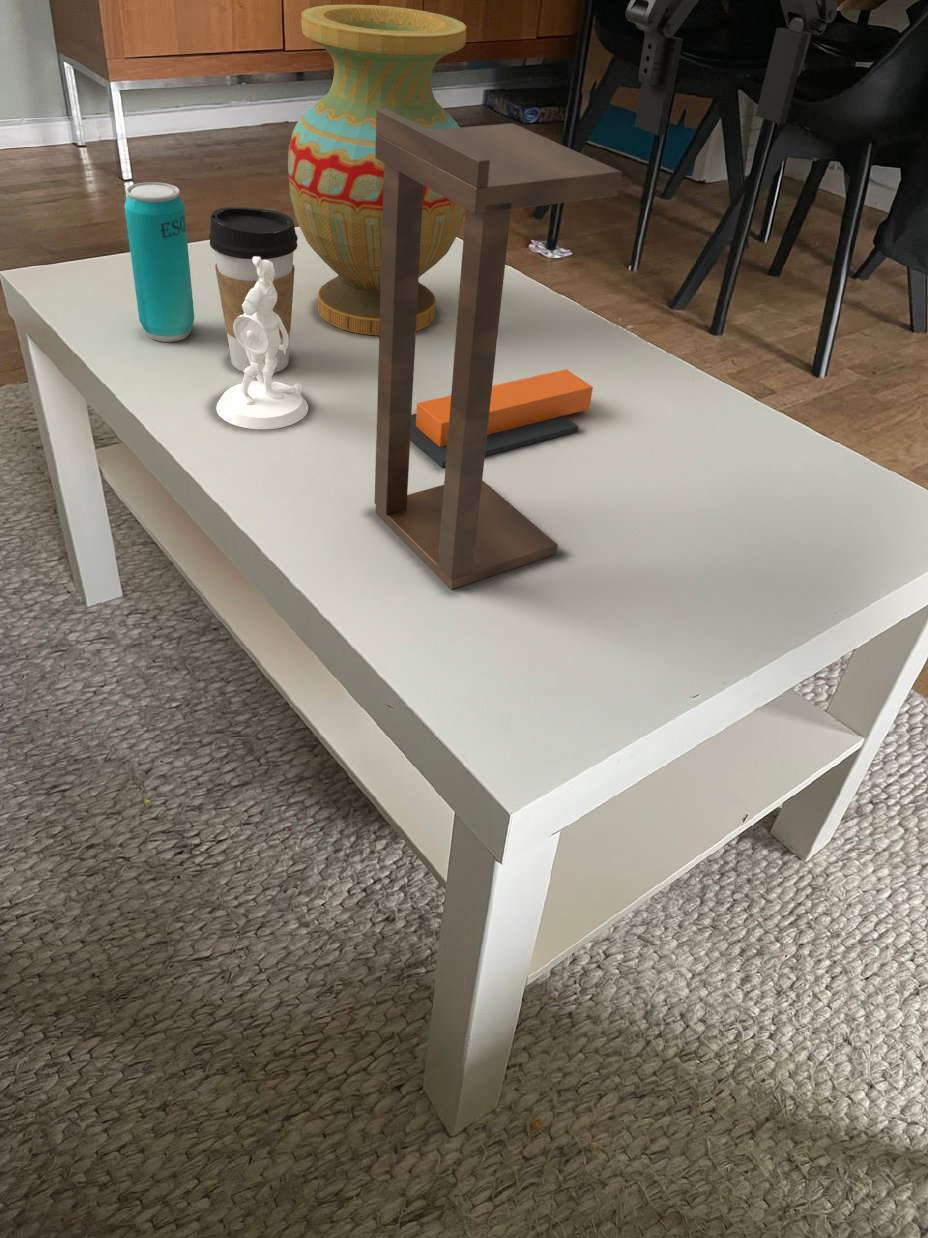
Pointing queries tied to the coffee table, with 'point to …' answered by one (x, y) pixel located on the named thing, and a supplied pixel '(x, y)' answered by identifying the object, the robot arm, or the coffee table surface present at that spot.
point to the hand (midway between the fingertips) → (712, 125)
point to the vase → (368, 151)
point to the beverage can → (160, 260)
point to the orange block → (513, 404)
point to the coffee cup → (252, 267)
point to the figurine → (261, 363)
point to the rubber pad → (499, 437)
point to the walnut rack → (459, 328)
